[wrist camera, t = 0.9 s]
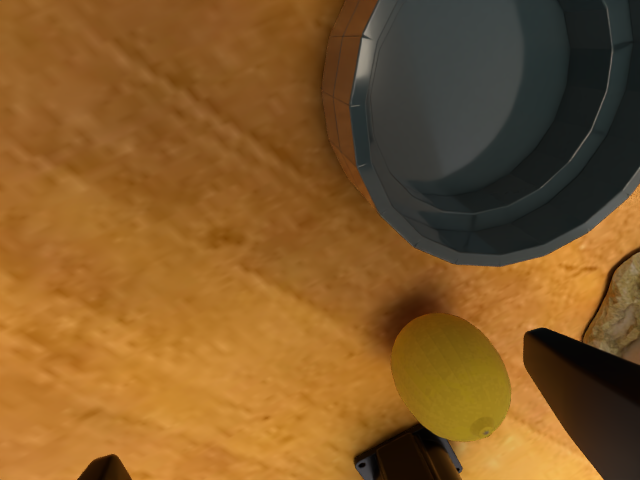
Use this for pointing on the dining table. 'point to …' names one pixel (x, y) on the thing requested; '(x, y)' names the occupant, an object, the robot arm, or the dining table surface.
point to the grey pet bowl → (487, 119)
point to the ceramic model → (619, 314)
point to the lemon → (450, 377)
